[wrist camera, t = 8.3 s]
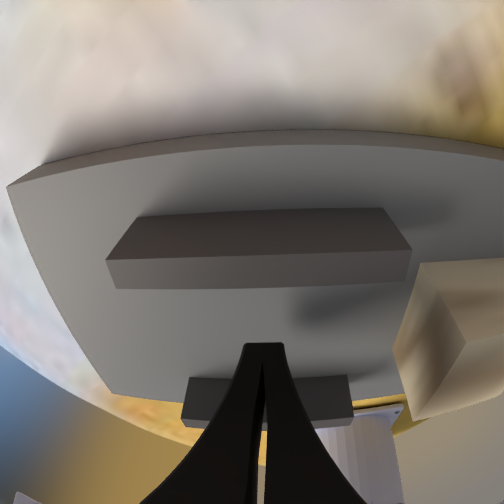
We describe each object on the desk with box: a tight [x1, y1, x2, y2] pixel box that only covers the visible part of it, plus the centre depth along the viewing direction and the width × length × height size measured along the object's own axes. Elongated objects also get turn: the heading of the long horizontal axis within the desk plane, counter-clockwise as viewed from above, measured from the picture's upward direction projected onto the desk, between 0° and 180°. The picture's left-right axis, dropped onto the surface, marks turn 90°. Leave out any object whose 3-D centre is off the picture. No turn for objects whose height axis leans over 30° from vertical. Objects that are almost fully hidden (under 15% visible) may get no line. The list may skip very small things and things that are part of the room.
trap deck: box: [6, 130, 504, 431], centre depth 12 cm, size 14×30×5 cm, turn 94°
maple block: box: [392, 258, 504, 421], centre depth 10 cm, size 5×5×4 cm
